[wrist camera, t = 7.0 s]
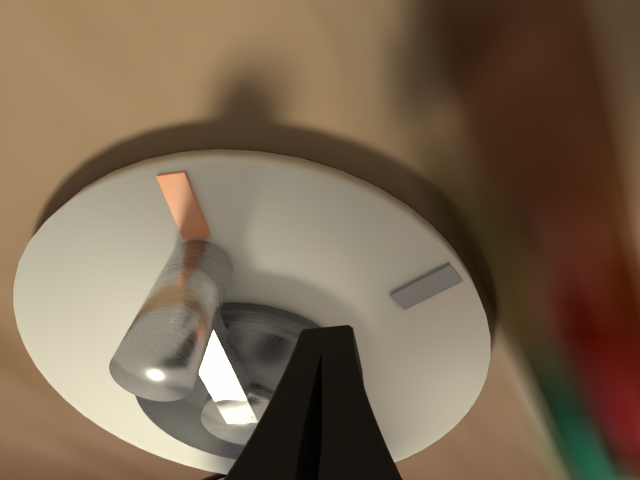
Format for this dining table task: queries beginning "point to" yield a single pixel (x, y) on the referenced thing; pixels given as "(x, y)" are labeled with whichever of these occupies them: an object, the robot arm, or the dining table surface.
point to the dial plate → (256, 285)
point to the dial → (204, 353)
